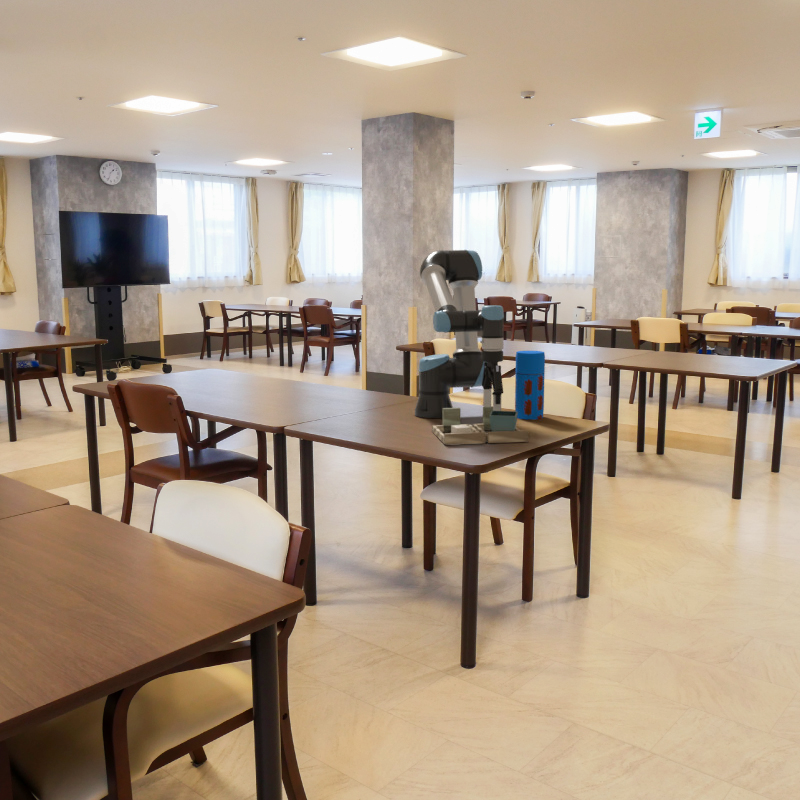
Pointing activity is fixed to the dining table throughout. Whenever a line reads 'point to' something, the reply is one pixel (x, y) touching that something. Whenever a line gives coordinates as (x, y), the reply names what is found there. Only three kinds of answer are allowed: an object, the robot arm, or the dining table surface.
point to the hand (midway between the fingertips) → (492, 410)
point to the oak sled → (500, 435)
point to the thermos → (529, 384)
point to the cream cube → (460, 429)
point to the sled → (453, 418)
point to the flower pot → (503, 420)
